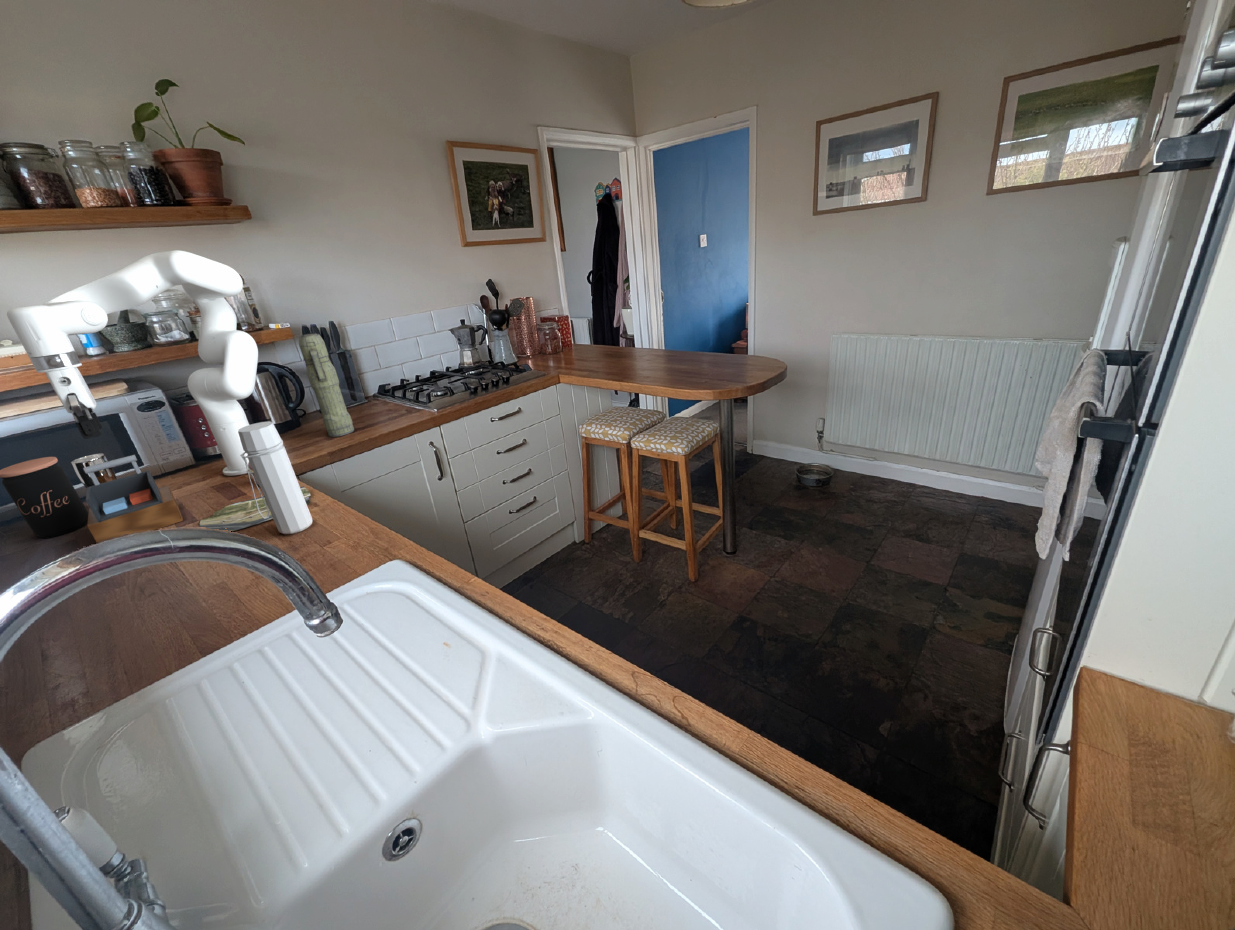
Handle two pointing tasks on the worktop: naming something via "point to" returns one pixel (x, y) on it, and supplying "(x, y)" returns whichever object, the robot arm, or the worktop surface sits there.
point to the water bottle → (275, 477)
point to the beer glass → (101, 475)
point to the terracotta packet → (140, 496)
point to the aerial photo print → (242, 514)
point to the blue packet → (114, 505)
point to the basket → (119, 489)
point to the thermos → (325, 385)
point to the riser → (138, 519)
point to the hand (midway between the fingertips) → (93, 433)
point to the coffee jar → (45, 497)
